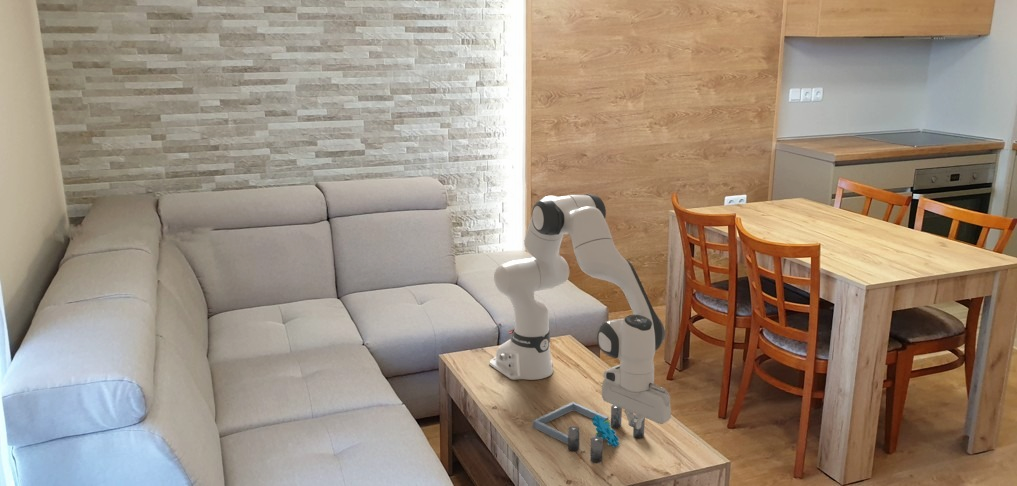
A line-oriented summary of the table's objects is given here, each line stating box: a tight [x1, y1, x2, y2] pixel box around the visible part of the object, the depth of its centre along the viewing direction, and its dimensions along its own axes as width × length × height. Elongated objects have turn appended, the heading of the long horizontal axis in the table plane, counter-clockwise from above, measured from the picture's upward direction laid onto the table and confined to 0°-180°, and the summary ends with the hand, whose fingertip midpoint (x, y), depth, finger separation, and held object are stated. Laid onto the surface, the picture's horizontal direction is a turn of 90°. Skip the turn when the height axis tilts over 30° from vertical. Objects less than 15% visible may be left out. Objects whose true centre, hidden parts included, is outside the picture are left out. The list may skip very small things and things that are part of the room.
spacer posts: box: [567, 404, 646, 464], centre depth 212 cm, size 11×21×6 cm, turn 133°
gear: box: [591, 415, 620, 448], centre depth 213 cm, size 11×6×10 cm
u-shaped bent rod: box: [532, 401, 609, 445], centre depth 222 cm, size 14×17×2 cm
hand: (634, 426), depth 204 cm, fingers closed
